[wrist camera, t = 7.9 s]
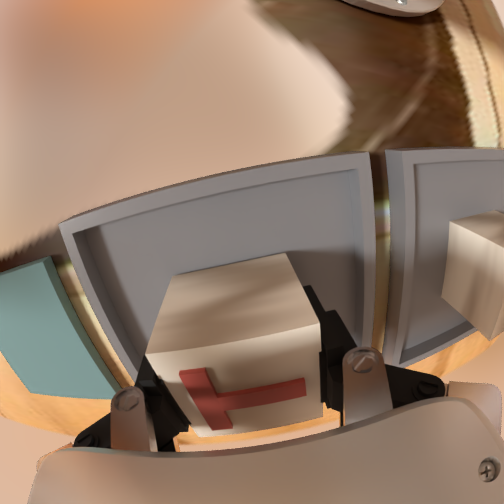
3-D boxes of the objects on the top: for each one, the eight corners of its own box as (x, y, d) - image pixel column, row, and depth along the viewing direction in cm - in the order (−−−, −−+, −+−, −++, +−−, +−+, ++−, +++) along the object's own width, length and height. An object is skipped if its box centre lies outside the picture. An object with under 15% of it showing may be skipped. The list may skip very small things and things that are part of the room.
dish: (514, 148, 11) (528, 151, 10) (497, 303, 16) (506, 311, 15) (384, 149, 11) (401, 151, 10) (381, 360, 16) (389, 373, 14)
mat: (50, 255, 11) (42, 261, 11) (123, 390, 15) (120, 399, 14) (-27, 283, 11) (-33, 288, 10) (34, 386, 15) (30, 392, 14)
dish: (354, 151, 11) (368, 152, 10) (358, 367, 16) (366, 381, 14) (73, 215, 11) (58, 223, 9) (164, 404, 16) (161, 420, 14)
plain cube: (494, 210, 12) (548, 234, 7) (485, 276, 14) (529, 310, 9) (449, 221, 12) (514, 254, 7) (441, 296, 14) (489, 341, 9)
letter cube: (285, 252, 12) (322, 327, 7) (297, 339, 14) (324, 420, 9) (172, 276, 12) (143, 358, 7) (203, 357, 14) (199, 441, 9)
